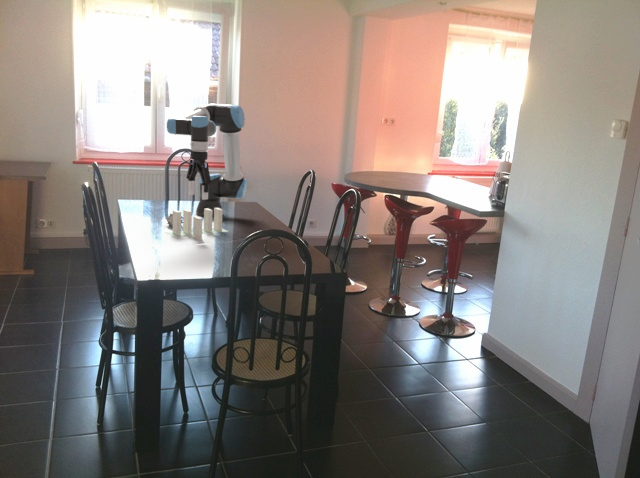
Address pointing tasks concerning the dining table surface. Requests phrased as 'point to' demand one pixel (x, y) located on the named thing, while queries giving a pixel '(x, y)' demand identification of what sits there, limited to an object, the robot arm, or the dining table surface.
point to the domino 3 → (197, 228)
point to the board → (192, 232)
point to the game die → (171, 220)
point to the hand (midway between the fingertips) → (198, 197)
